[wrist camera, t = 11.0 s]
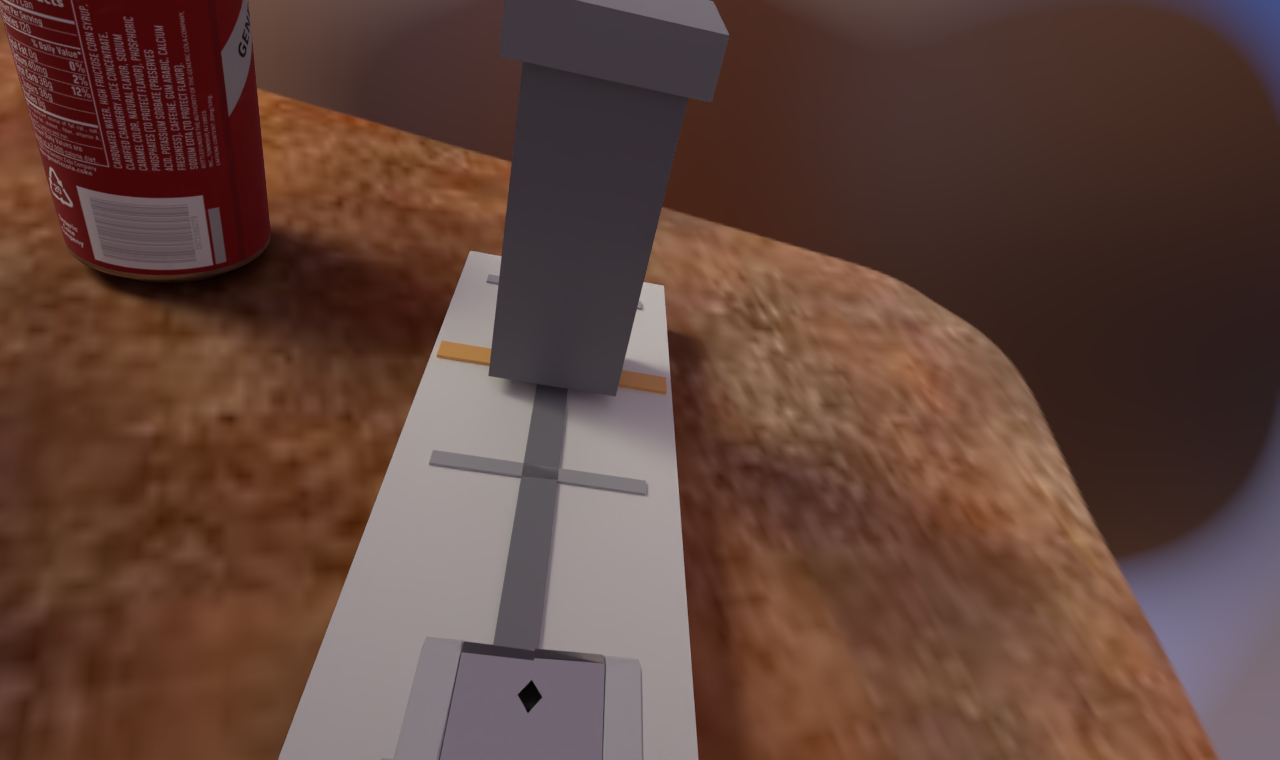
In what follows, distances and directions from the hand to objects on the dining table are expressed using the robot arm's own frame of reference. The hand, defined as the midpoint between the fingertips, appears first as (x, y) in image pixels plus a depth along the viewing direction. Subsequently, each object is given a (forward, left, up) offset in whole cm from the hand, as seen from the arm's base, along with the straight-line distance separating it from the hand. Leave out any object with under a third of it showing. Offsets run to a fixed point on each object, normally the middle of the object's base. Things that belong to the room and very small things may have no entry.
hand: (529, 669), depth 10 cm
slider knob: (-8, +11, -5) cm, 15 cm away
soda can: (-24, +8, -7) cm, 27 cm away
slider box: (-5, +7, -7) cm, 11 cm away
